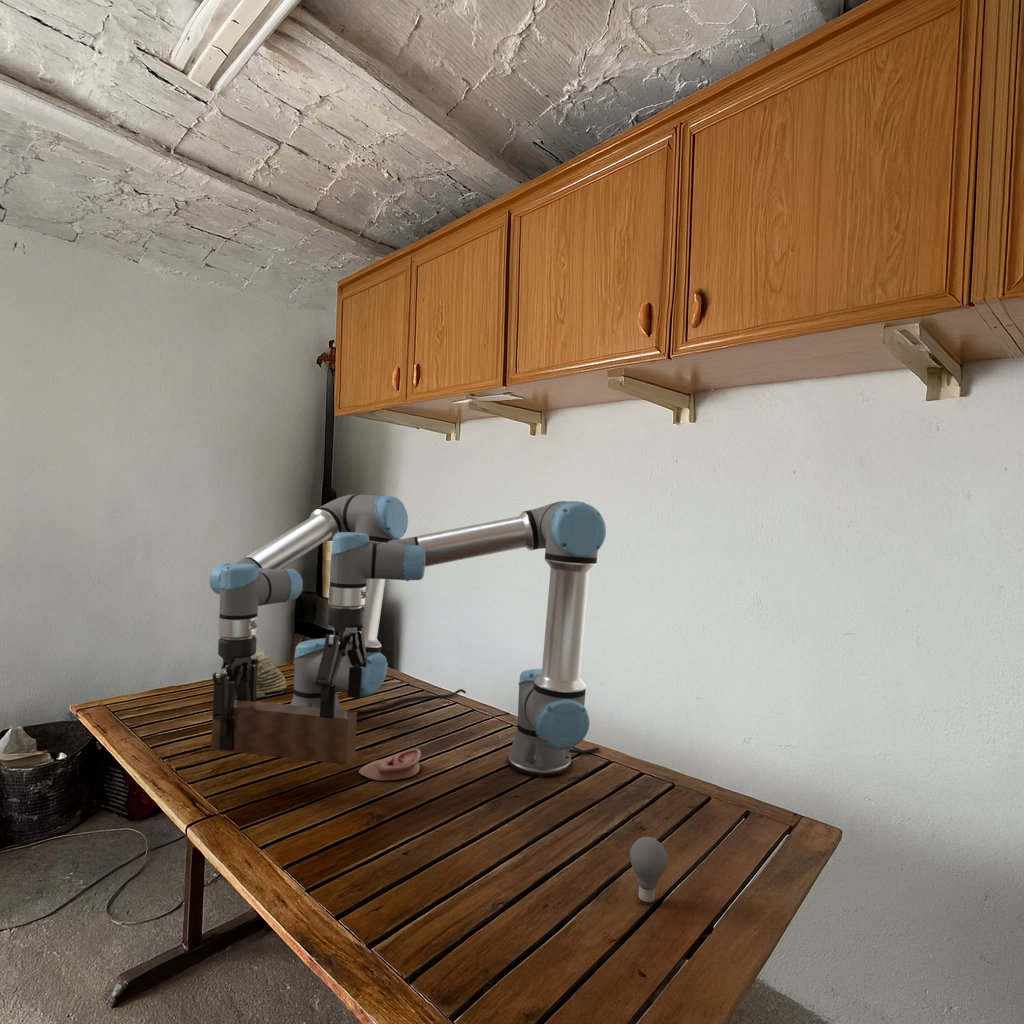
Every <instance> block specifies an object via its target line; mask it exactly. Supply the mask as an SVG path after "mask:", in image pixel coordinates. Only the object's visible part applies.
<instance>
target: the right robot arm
mask: <svg viewBox="0 0 1024 1024" xmlns="http://www.w3.org/2000/svg"><path fill="white" fill-rule="evenodd" d="M606 535H607V526H606V522H605V519H604V517H603V516H602V514H601V513H600V511H599V510H598V509H597V508H595V507H594V506H592V505H591V504H589V503H586V502H584V501H579V500H576V501H575V500H574V501H573V500H571V501H570V500H569V501H567V500H561V501H560V500H559V501H556V502H553V503H549V504H546V505H544V506H543V505H542V506H540V507H537V508H533V509H530V510H529V509H528V510H524V511H522V512H521V513H520V514H519V516H515V517H509V518H504V519H503V518H502V519H499V520H494V521H487V522H483V523H478V524H473V525H467V526H463V527H458V528H457V527H456V528H452V529H447V530H446V529H445V530H441V531H436V532H431V533H425V534H421V535H415V536H411V537H405V538H399V539H393V540H390V541H389V542H387V543H386V544H376V543H370V540H369V536H368V534H365V533H354V532H339V533H337V534H335V535H334V536H333V540H332V541H331V551H330V565H329V567H330V568H329V584H328V598H327V601H328V602H327V603H328V605H329V607H327V619H326V621H327V622H326V623H327V625H328V626H330V627H332V628H333V633H332V634H326V635H325V638H326V639H325V647H324V651H323V655H322V659H321V663H320V667H319V670H318V674H317V678H316V685H321V699H320V717H322V718H330V719H333V718H334V707H335V689H336V685H333V684H334V681H335V678H336V676H337V673H338V670H339V667H340V664H341V661H342V658H343V657H344V656H345V655H346V654H348V657H349V660H350V663H351V665H352V666H353V667H350V668H349V683H348V694H347V698H352V699H361V698H362V696H361V682H362V668H361V667H365V668H366V667H367V663H366V661H367V655H366V648H365V641H364V635H363V624H364V619H365V609H364V607H362V606H363V605H364V604H365V597H366V596H367V595H368V593H367V592H366V581H367V578H368V579H385V580H395V581H396V580H397V581H406V582H409V581H421V580H423V579H424V576H425V571H426V567H432V566H436V565H437V566H438V565H442V564H447V563H452V562H453V563H454V562H458V561H463V560H467V559H473V558H478V557H483V556H489V555H493V554H499V553H503V552H508V551H514V550H518V549H524V548H525V549H527V550H528V551H535V550H540V549H543V550H544V549H545V551H544V561H545V563H547V565H548V566H549V567H550V569H549V570H550V571H549V583H548V594H547V595H548V596H547V605H546V606H547V607H546V617H545V618H546V619H545V631H544V642H543V653H542V663H541V664H542V665H541V668H530V669H525V670H523V671H521V672H520V674H519V680H518V681H519V682H518V700H517V701H518V705H517V725H516V727H517V728H516V733H515V735H514V738H513V741H512V743H511V747H510V749H509V752H508V762H507V763H508V765H509V767H510V768H512V769H513V770H514V771H516V772H518V773H520V774H522V775H527V776H531V777H542V778H543V777H545V778H547V777H555V776H560V775H563V774H565V773H567V772H568V771H569V770H570V768H571V763H572V756H571V754H570V753H574V754H581V755H582V754H585V755H586V754H591V753H595V752H599V751H600V747H599V746H597V747H593V748H588V749H576V748H574V747H576V746H577V745H578V744H580V743H581V742H582V741H584V739H585V737H586V736H587V734H588V732H589V729H590V716H589V711H588V710H587V708H586V707H585V702H586V690H587V684H586V683H585V681H583V679H581V669H582V657H583V647H584V635H585V623H586V622H585V621H586V610H587V602H588V601H587V599H588V590H589V589H588V587H589V578H590V577H589V576H590V571H591V570H592V569H593V568H595V566H597V564H598V563H597V562H598V551H599V550H600V549H601V548H602V546H603V545H604V542H605V540H606ZM361 655H362V656H361Z"/></svg>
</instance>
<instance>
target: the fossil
mask: <svg viewBox="0 0 1024 1024" xmlns="http://www.w3.org/2000/svg"><path fill="white" fill-rule="evenodd" d="M251 659H258V660H259V663H258V668H257V683H256V698H264V697H271V696H275V695H281V694H284V693H285V691H286V689H287V687H288V686H287V680H286V678H285V676H284V674H283V673H282V672H281V669H279V668H278V667H277V665H276V663H275V662H274V660H273V659H272V658H271V657H270V656H269V655H268V654H267V653H266V652H265V650H264V649H263V648H260V647H258V648H257V647H256V653H255V654H254V655H252V656H251ZM228 682H230V681H228ZM233 683H234V682H233ZM250 698H251V697H250ZM235 699H237V692H236V696H235Z"/></svg>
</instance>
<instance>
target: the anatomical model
mask: <svg viewBox="0 0 1024 1024" xmlns="http://www.w3.org/2000/svg"><path fill="white" fill-rule="evenodd" d="M421 756H422V754H421V750H420V749H419V748H412V749H408V750H404V751H402V752H398V753H396V754H393V755H391V756H388V757H384V758H382V759H377V760H373V761H371V762H369V763H367V764H365V765H363V766H362V767H361V768H360V769H359V770H358V773H359V774H360V775H361V776H363V777H366V778H368V779H371V780H373V781H379V782H380V781H381V782H382V781H397V780H403V779H407V778H410V777H413V776H415V775H417V774H418V773H419V771H420V768H421V766H420V763H419V762H420V760H421Z"/></svg>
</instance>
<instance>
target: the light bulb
mask: <svg viewBox="0 0 1024 1024" xmlns="http://www.w3.org/2000/svg"><path fill="white" fill-rule="evenodd" d="M629 860H630V864H631V865H630V866H632V869H633V871H634V873H635V875H636V881H637V884H638V898H639V900H641V901H642V902H645V903H653V902H654V901H655V900H656V897H655V896H656V895H655V894H656V888H657V887H658V884H659V880H660V878H661V876H662V875H663V874H664V873H665V871H666V869H667V865H668V854H667V851H666V849H665V847H664V845H663V844H662V843H661V842H660V841H659V840H658V839H656V838H654V837H650V836H643V837H640V838H638V839H636V841H634V842H633V844H632V846H631V848H630V851H629Z"/></svg>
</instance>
